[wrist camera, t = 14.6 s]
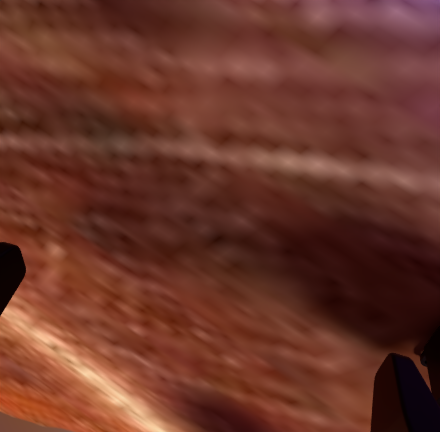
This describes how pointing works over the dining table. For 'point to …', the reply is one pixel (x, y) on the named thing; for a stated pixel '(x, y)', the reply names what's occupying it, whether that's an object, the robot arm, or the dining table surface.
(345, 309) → the dining table surface
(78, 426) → the dining table surface
